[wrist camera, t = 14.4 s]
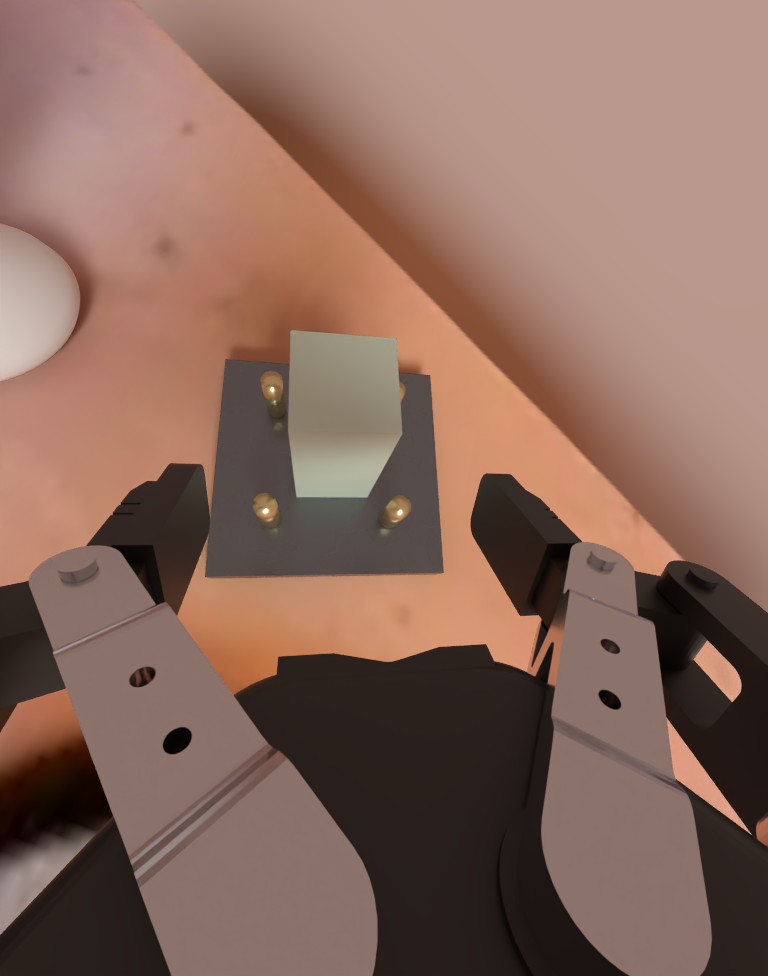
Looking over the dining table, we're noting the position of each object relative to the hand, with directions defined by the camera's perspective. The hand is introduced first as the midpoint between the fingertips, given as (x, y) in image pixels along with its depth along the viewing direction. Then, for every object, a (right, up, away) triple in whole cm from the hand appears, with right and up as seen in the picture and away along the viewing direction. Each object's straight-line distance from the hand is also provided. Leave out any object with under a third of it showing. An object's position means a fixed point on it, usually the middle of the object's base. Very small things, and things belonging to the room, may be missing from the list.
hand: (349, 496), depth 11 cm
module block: (-2, +2, +14) cm, 14 cm away
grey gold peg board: (-3, +1, +15) cm, 15 cm away
